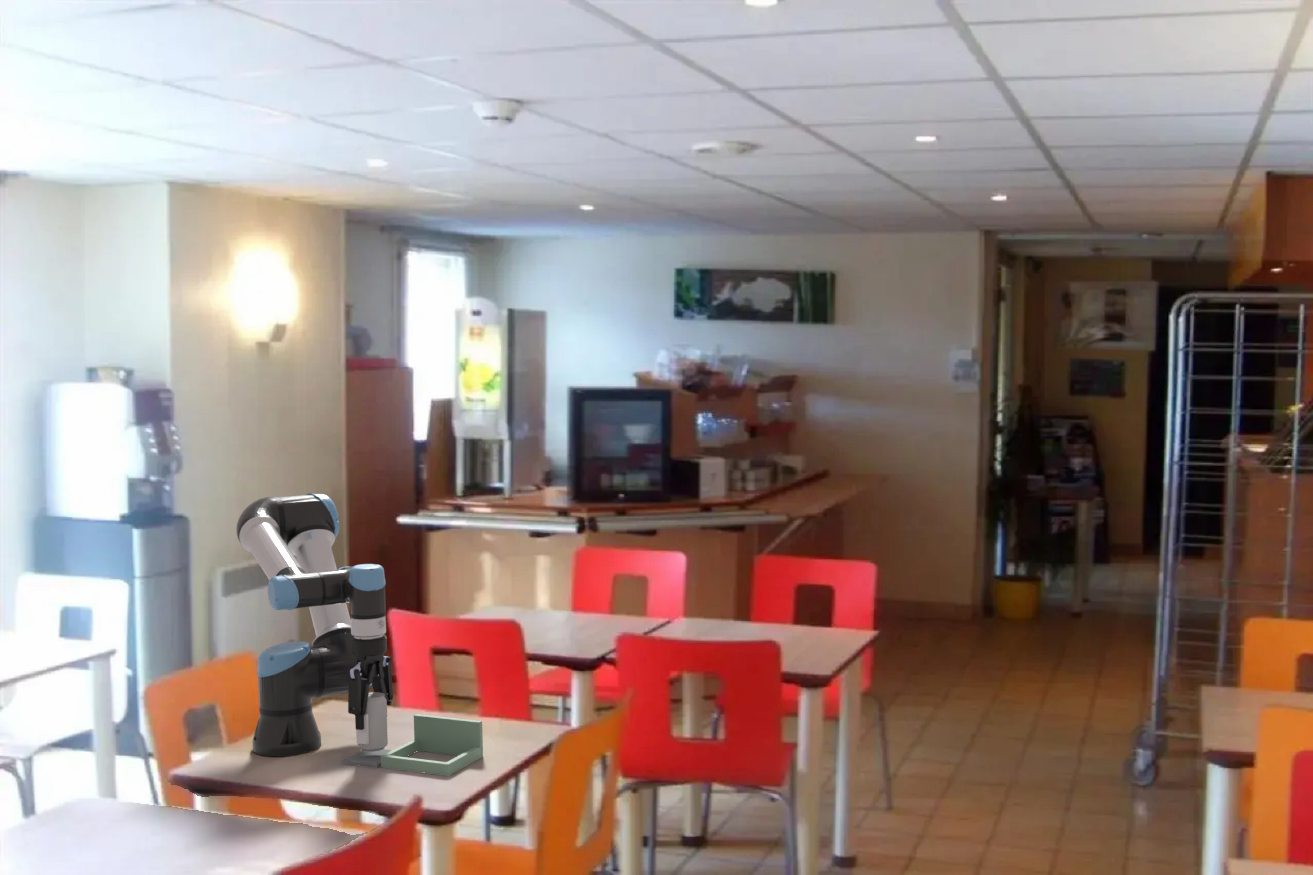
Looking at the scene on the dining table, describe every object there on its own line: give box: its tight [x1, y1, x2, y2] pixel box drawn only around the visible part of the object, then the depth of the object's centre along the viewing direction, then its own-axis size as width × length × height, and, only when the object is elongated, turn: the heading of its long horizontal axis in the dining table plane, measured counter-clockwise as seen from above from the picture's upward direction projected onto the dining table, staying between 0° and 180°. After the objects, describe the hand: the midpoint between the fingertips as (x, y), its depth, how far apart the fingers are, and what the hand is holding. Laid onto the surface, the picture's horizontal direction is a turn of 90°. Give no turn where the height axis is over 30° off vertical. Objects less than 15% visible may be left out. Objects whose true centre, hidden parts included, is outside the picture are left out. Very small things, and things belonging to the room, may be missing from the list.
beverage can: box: [357, 691, 389, 752], centre depth 297 cm, size 6×6×12 cm
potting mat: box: [341, 748, 393, 769], centre depth 298 cm, size 9×10×1 cm
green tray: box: [380, 713, 484, 777], centre depth 295 cm, size 17×14×8 cm
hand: (372, 738), depth 297 cm, fingers closed on beverage can, 6 cm apart
